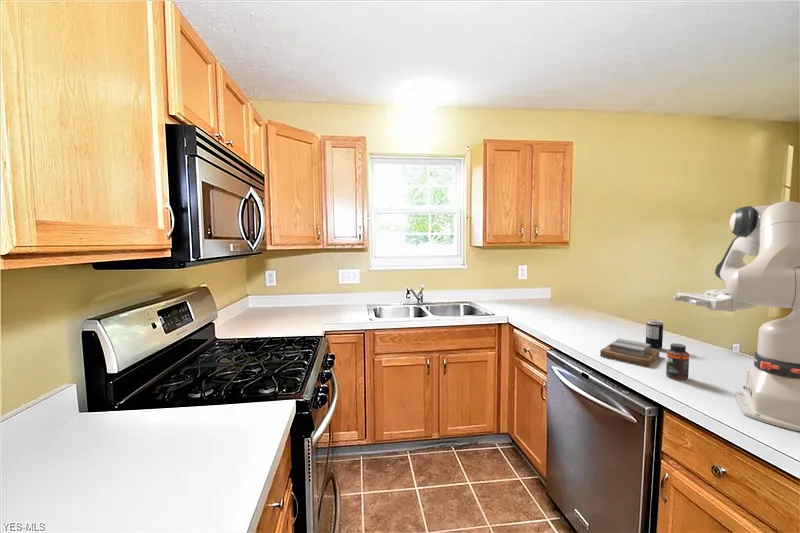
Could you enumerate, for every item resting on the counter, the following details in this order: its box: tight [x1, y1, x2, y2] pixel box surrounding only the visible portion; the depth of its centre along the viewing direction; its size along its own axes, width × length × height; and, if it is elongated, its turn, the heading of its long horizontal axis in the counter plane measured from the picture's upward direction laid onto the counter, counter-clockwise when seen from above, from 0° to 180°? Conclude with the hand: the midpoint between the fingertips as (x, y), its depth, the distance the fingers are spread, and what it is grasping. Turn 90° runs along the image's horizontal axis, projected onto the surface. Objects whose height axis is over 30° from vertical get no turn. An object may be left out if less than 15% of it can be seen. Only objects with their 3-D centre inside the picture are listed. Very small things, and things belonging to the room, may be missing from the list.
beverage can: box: [645, 318, 664, 350], centre depth 147 cm, size 6×6×12 cm
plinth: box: [599, 337, 661, 368], centre depth 138 cm, size 16×16×5 cm
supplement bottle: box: [665, 342, 690, 381], centre depth 117 cm, size 6×6×11 cm
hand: (684, 300), depth 146 cm, fingers open, 8 cm apart
